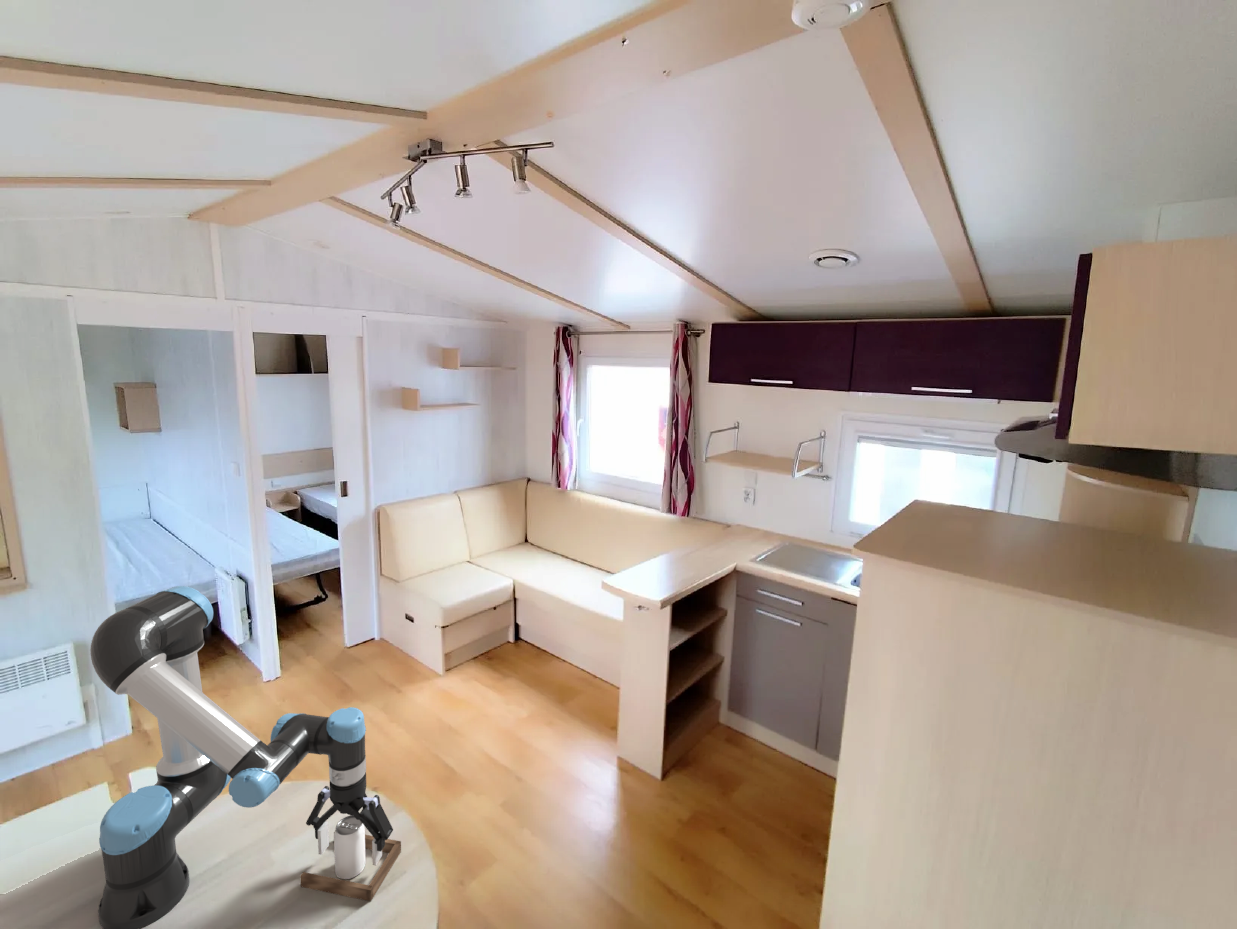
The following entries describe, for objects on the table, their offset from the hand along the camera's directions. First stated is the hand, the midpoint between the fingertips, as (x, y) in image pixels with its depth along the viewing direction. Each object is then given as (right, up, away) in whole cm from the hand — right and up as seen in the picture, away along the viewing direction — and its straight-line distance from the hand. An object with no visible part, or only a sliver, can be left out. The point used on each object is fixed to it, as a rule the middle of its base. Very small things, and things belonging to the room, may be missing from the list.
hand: (350, 854), depth 133 cm
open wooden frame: (0, -4, +1) cm, 4 cm away
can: (0, -4, +1) cm, 4 cm away
